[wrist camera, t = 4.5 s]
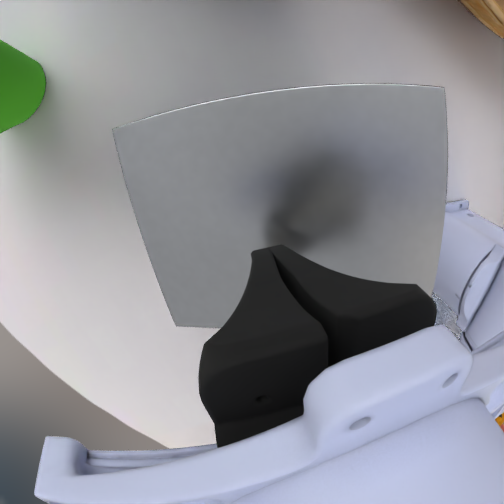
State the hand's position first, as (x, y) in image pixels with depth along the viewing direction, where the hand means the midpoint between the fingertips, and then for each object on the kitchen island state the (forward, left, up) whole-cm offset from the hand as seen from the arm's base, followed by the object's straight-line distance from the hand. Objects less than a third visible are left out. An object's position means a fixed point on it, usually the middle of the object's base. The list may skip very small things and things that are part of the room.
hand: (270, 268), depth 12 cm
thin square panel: (-1, -1, -1) cm, 2 cm away
